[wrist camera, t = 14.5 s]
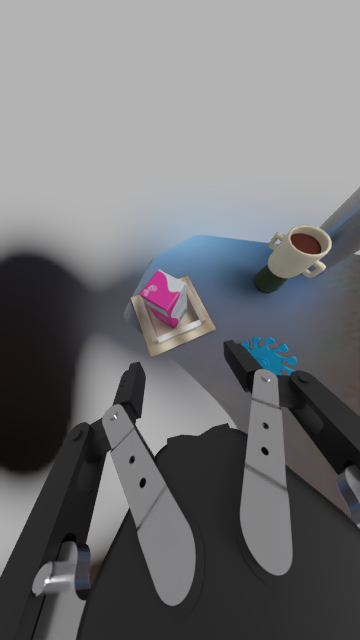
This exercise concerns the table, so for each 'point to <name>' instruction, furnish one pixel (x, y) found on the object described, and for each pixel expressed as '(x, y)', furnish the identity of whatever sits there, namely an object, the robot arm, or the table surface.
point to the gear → (270, 356)
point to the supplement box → (166, 298)
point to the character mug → (294, 256)
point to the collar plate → (165, 336)
